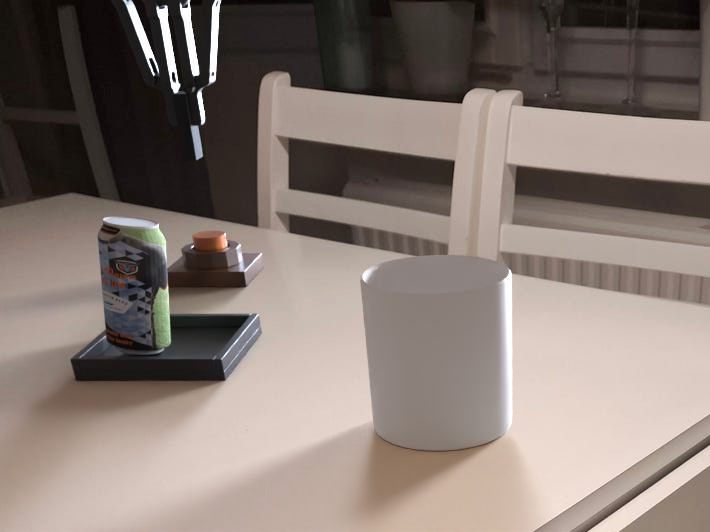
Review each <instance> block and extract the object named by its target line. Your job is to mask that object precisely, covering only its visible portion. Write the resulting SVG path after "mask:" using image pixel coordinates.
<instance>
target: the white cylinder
mask: <svg viewBox="0 0 710 532" xmlns="http://www.w3.org/2000/svg"><path fill="white" fill-rule="evenodd" d="M359 281H360V282H359V283H360V292H361V302H362V304H361V305H362V315H363V325H364V336H365V347H366V357H367V358H366V360H367V370H368V379H369V380H368V381H369V391H370V392H369V393H370V401H371V413H372V422H373V428H374V431H375V433H376V434H377V435H378V436H379V437H380V438H381V439H383V441H385V442H388V443H390V444H392V445H394V446H398V447H402V448H405V449H409V450H410V449H411V450H416V451H428V452H446V451H456V450H457V451H458V450H459V451H460V450H465V449H470V448H475V447H478V446H483V445H486V444H488V443H490V442H493V441H496V440H497V439H499V438H501V437H502V436H503V435H505V434H506V433H507V431H508V430H509V429H511V426H512V423H513V275H512V271H511V269H510V268H509V267H507V265H506V264H504V263H501V262H500V261H497V260H494V259H491V258H487V257H480V256H473V255H472V256H471V255H463V254H431V255H429V254H428V255H417V256H409V257H401V258H397V259H392V260H388V261H383V262H381V263H377V264H375V265H372V266H370V267H369V268H367V269H366V270H365V271H364V272H363V273H362V274H361V276H360V280H359Z"/></svg>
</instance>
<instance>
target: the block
mask: <svg viewBox="0 0 710 532" xmlns="http://www.w3.org/2000/svg"><path fill="white" fill-rule="evenodd" d="M226 240H227V246H228V248H225V249H222V250H215V251H196V250H194V244H193V242H192V243H188V244H186V245H184V246H183V247H182V248H181V249H180V250H181V256H180V257H179V258H178V259H177V260H175V261H174V262H173V263H172V264H171V265H169V266H167V276H168V288H197V287H198V288H199V287H200V288H202V287H203V288H205V287H206V288H207V287H208V288H209V287H213V288H215V287H221V288H223V287H227V288H228V287H248V285H250V283H251V282H252V281H253V280H254V279H255V278H256V276H258V274H260V272H261V271H262V270H263V269H264V268H265V266H264V265H265V264H264V258H263V253H262V252H243V253H242V246H241V244H240V243H239V242H237V241H235V240H229V239H226Z"/></svg>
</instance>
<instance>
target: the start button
mask: <svg viewBox="0 0 710 532" xmlns="http://www.w3.org/2000/svg"><path fill="white" fill-rule="evenodd" d="M191 239H192V243H193V244H194V250H196V251H215V250H222V249H225V248H228V246H227V240H228V239H227V234H226V232H224V231H222V230H204V231H199V232H195V233H193V234H192V235H191Z"/></svg>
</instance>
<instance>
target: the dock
mask: <svg viewBox="0 0 710 532" xmlns="http://www.w3.org/2000/svg"><path fill="white" fill-rule="evenodd" d="M169 315H170V335H171V344H170V345H169V346H168V347H166V348H164V350H163V351H162V352H160V353H158V354H152V355H135V354H128V353H124V352H121V351H118V350H117V349H116V348H115V346H114V345H112V344H110V343H109V342H108V341H107V339H106V329H104V330H103V331H101V333H100V334H98V335H97V336H96V337H95V338H93V339H92V340H91V341H90V342H89V343H88V344H86V345H85V346H84V347H83V348H81V349H80V351H78V352H77V353H75V355H73V356H72V357H71V358H70V364H71V368H72V371H73V375H74V378H75V381H226V380H227V379H228V378H229V377H230V375H231V374H232V372H234V370H235V368H236V367H237V366H238V365H239V363H240V362H241V361H242V359H243V358H244V357H245V355H247V353H248V352H249V350H250V349H251V348H252V346H253V345H254V344H255V342H256V341H257V340H258V339H259V338H260V336H261V335H262V333H263V331H262V325H261V319H260V314H259V313H169Z"/></svg>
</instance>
